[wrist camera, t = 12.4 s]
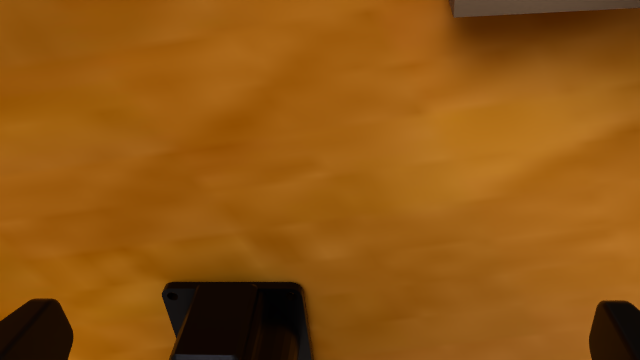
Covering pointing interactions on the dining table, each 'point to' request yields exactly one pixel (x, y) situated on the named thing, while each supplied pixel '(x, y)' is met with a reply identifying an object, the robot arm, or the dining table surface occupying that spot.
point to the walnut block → (533, 6)
